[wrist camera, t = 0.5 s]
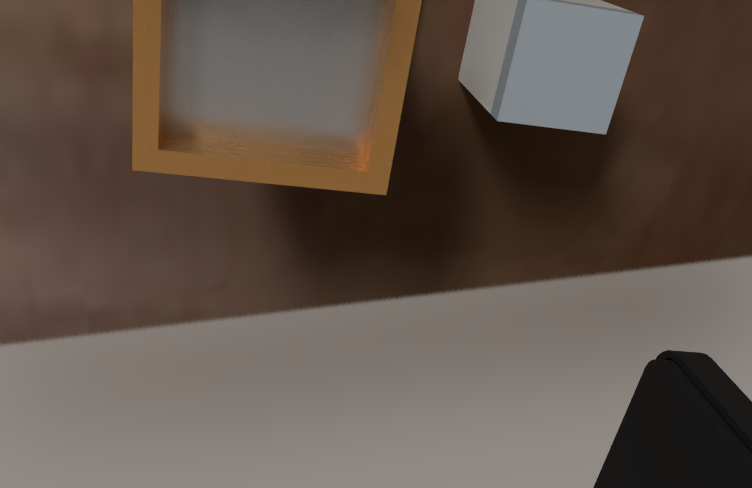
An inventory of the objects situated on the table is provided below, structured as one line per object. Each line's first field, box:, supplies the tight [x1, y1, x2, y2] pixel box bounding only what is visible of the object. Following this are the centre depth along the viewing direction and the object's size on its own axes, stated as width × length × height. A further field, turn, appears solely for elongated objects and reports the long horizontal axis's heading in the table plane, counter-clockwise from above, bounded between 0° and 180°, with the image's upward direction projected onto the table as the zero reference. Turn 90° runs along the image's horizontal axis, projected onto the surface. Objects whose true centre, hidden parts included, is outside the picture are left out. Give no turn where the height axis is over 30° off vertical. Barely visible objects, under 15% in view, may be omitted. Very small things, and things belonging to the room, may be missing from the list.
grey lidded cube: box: [458, 0, 644, 134], centre depth 31 cm, size 5×5×7 cm
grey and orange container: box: [132, 0, 422, 195], centre depth 27 cm, size 12×12×12 cm
